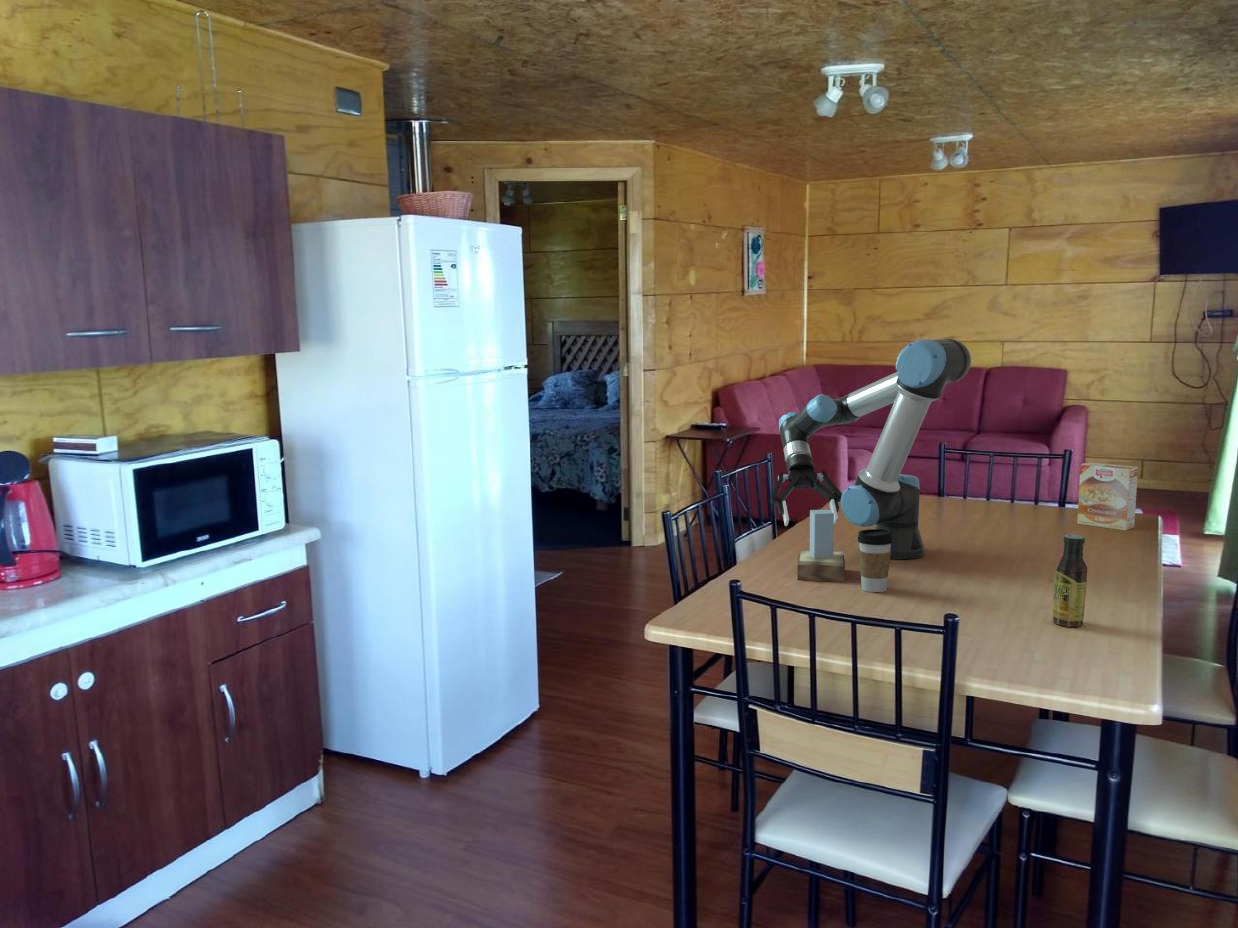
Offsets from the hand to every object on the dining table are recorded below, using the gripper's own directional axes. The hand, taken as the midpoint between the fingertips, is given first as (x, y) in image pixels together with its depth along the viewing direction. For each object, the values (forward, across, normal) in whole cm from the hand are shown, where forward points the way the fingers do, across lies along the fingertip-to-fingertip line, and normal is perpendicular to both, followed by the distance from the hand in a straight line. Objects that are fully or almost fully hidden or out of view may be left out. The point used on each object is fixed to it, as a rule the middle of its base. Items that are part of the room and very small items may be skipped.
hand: (811, 522), depth 256 cm
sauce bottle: (+48, -42, +31) cm, 72 cm away
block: (+12, 0, +3) cm, 13 cm away
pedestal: (+16, 0, -1) cm, 16 cm away
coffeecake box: (-16, -104, -33) cm, 110 cm away
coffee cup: (+27, -9, +10) cm, 30 cm away
